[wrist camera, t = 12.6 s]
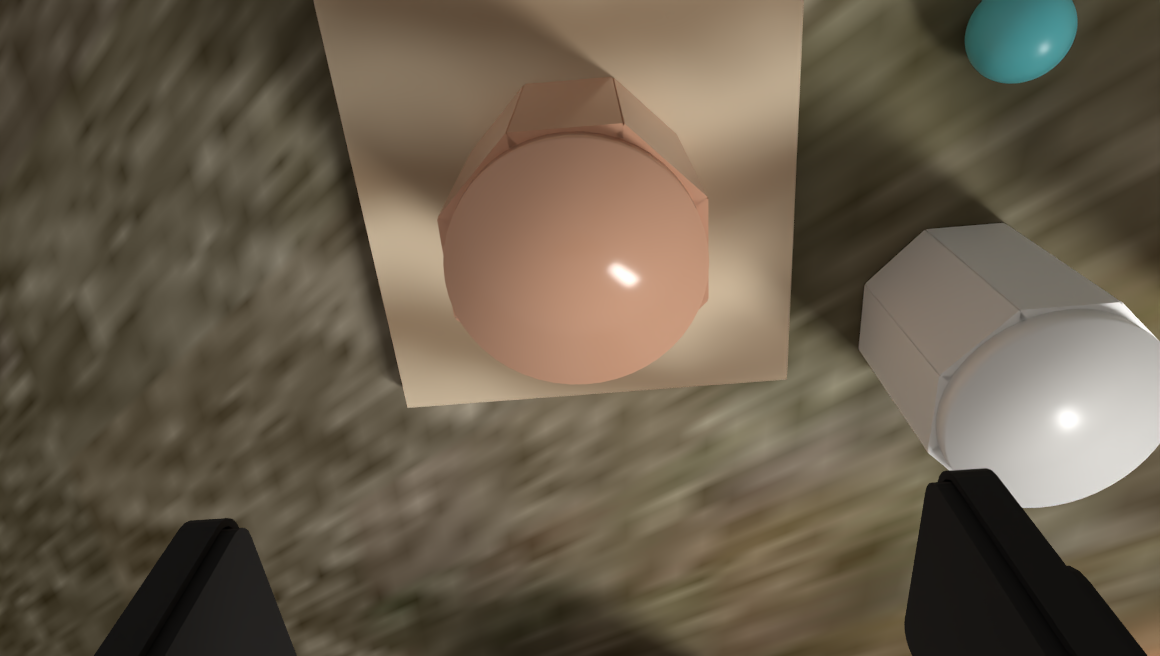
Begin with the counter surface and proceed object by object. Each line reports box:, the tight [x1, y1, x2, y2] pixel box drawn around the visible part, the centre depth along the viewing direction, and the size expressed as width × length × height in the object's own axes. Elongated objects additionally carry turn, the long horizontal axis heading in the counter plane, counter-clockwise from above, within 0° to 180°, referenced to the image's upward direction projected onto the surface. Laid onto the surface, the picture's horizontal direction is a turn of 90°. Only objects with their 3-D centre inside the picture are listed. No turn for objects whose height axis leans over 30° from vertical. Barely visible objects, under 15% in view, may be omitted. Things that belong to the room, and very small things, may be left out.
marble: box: [965, 0, 1078, 84], centre depth 25 cm, size 3×3×3 cm
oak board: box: [313, 0, 804, 408], centre depth 28 cm, size 18×16×1 cm
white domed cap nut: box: [858, 223, 1160, 508], centre depth 28 cm, size 7×7×8 cm
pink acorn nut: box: [437, 77, 709, 385], centre depth 24 cm, size 7×7×8 cm
